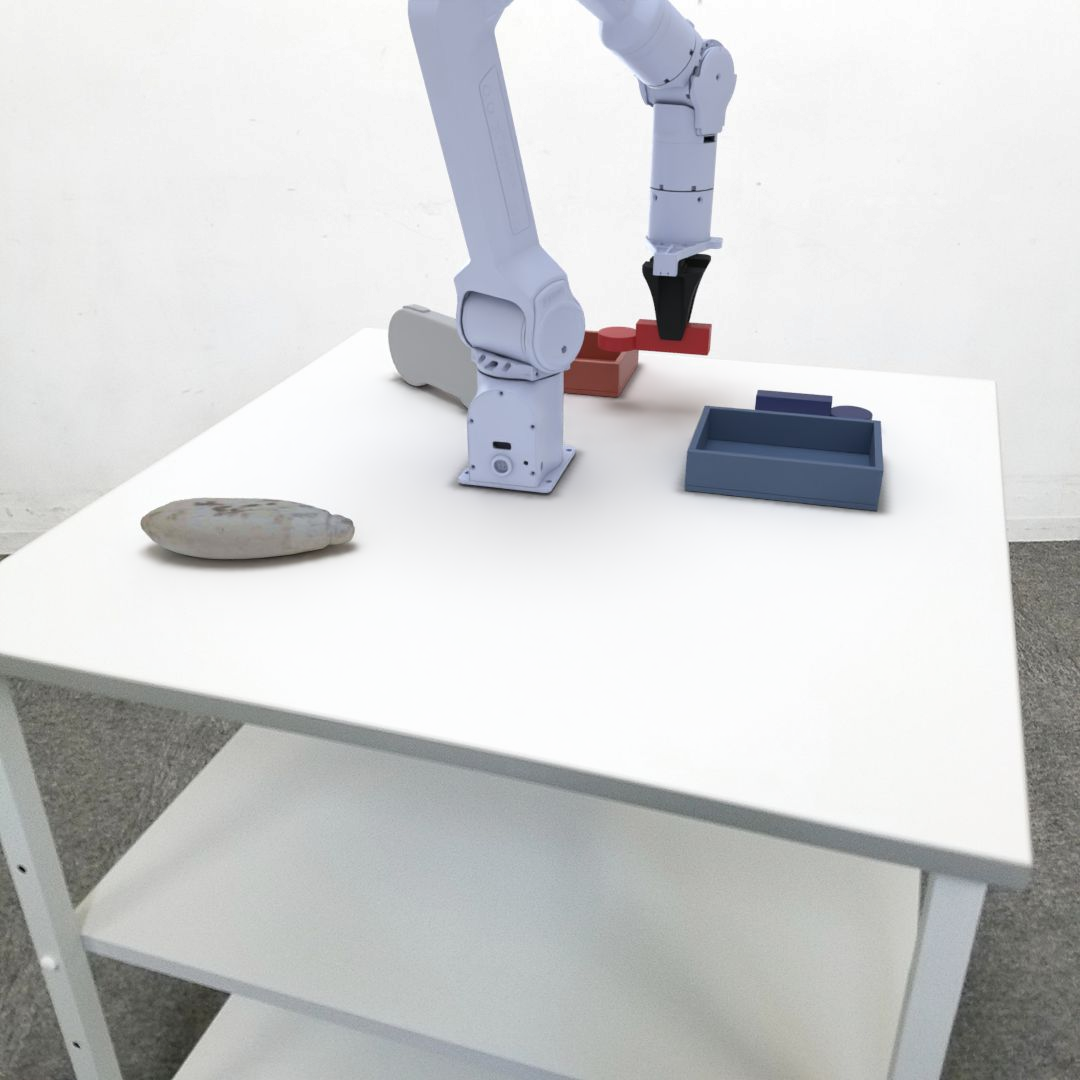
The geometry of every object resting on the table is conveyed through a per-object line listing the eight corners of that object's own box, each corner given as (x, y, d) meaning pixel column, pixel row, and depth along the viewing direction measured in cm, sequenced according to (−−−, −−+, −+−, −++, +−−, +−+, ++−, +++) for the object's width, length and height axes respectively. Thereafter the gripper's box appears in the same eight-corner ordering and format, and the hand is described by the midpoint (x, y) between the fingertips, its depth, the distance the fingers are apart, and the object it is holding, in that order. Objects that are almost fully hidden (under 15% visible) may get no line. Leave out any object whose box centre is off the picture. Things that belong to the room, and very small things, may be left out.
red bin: (618, 397, 105) (619, 364, 104) (476, 385, 109) (475, 352, 107) (638, 364, 115) (639, 334, 113) (507, 354, 118) (506, 324, 117)
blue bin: (877, 511, 81) (883, 470, 80) (684, 490, 85) (687, 451, 83) (875, 458, 91) (881, 420, 89) (701, 441, 94) (704, 405, 93)
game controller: (518, 420, 99) (517, 335, 96) (499, 426, 98) (497, 340, 94) (407, 371, 113) (403, 296, 109) (389, 376, 111) (384, 299, 108)
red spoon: (711, 347, 100) (713, 320, 99) (706, 359, 97) (708, 332, 96) (602, 338, 103) (603, 313, 102) (593, 350, 99) (594, 323, 98)
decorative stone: (351, 564, 74) (347, 522, 72) (131, 570, 73) (122, 526, 71) (360, 526, 79) (357, 486, 78) (155, 531, 78) (147, 490, 77)
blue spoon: (752, 425, 98) (755, 399, 97) (756, 411, 102) (758, 385, 100) (870, 436, 96) (874, 409, 94) (870, 421, 99) (874, 395, 98)
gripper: (716, 202, 85) (704, 361, 92) (735, 177, 98) (724, 319, 104) (632, 198, 87) (626, 355, 93) (661, 174, 99) (654, 314, 106)
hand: (672, 335), depth 99 cm, fingers closed on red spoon, 2 cm apart
